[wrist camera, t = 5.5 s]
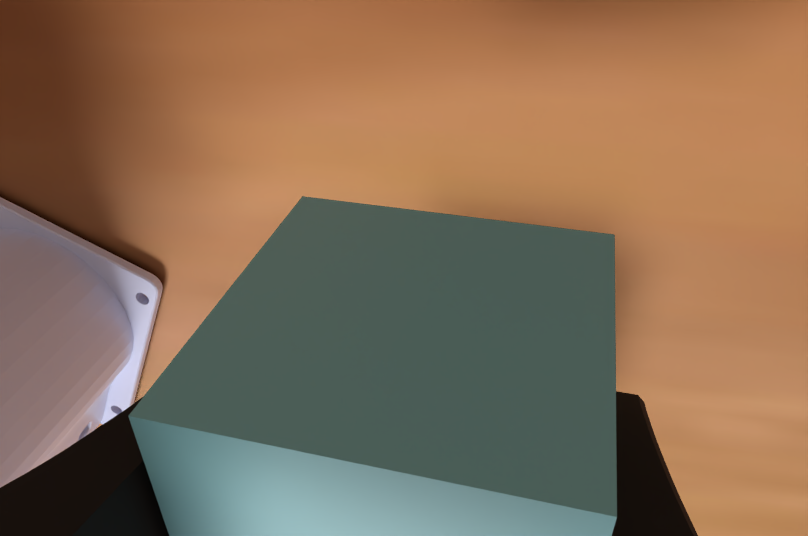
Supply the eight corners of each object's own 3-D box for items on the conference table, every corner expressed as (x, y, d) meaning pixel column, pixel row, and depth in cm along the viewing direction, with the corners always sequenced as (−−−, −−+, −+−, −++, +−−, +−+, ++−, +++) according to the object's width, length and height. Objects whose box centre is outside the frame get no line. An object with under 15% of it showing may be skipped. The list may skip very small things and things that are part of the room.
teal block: (568, 455, 13) (550, 747, 9) (324, 408, 14) (209, 650, 10) (614, 234, 10) (616, 516, 6) (302, 196, 11) (127, 415, 7)
